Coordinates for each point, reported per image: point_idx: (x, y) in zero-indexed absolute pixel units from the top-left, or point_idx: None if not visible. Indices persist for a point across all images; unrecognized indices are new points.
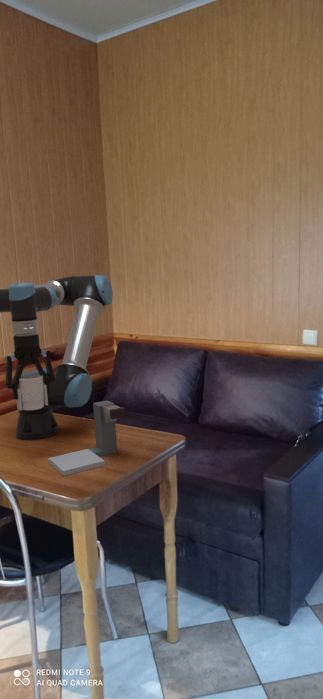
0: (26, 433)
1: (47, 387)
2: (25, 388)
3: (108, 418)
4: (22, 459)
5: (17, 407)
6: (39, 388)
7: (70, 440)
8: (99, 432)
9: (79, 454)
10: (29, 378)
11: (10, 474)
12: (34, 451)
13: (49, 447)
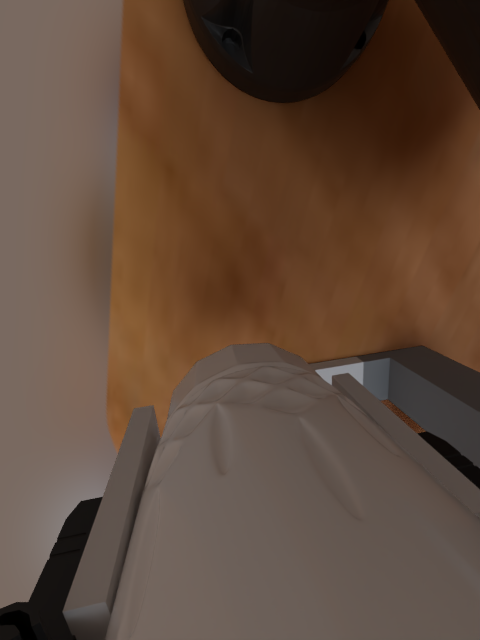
0: (221, 53)
1: None
2: None
3: None
4: (169, 305)
5: (132, 417)
6: None
7: (360, 199)
8: (428, 417)
9: None
10: (410, 567)
11: (120, 411)
12: (220, 246)
13: (276, 233)
